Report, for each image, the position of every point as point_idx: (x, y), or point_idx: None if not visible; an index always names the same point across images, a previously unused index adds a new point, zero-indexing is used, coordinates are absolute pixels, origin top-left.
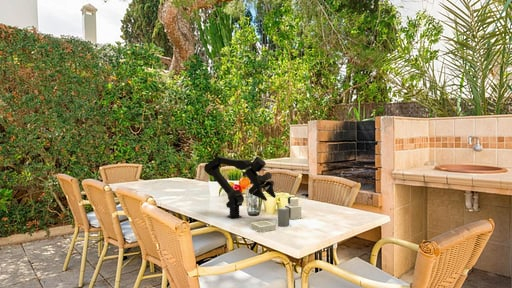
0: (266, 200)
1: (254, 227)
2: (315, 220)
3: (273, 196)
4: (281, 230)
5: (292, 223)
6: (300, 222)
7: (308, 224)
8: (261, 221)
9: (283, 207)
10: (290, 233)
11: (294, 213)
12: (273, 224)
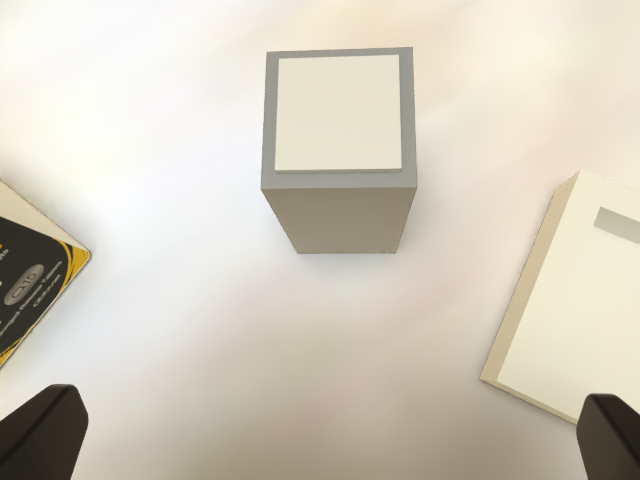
0: (597, 407)
1: None
2: (21, 25)
3: (60, 464)
4: (534, 129)
5: (232, 160)
6: (157, 110)
7: (190, 16)
8: (581, 406)
9: (295, 134)
10: (565, 13)
11: (12, 204)
12: (600, 187)
